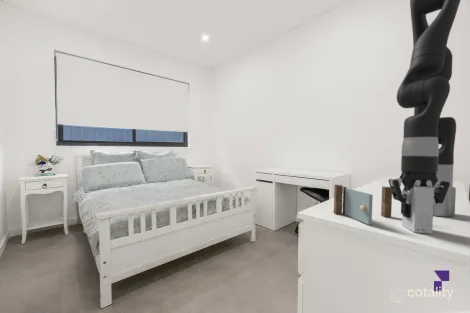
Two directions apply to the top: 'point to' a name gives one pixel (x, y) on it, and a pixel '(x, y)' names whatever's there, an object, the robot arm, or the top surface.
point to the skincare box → (420, 210)
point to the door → (358, 205)
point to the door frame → (339, 194)
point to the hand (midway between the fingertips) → (416, 217)
